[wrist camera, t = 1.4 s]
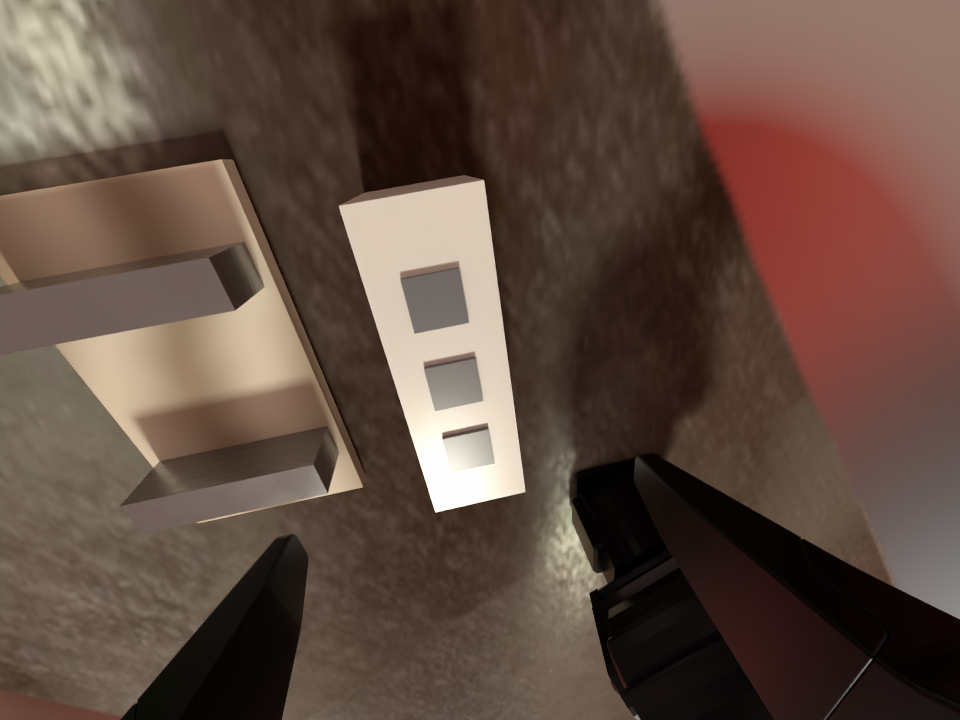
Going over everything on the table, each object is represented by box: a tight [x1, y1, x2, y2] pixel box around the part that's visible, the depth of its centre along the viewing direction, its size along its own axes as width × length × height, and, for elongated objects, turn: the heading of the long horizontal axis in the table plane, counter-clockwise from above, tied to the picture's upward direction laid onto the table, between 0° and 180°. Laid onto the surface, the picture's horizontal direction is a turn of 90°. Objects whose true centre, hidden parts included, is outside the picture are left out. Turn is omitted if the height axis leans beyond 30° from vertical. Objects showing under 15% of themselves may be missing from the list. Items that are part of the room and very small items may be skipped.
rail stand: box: [0, 159, 365, 533], centre depth 17 cm, size 10×18×4 cm, turn 9°
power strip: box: [339, 175, 525, 512], centre depth 17 cm, size 4×14×6 cm, turn 9°
